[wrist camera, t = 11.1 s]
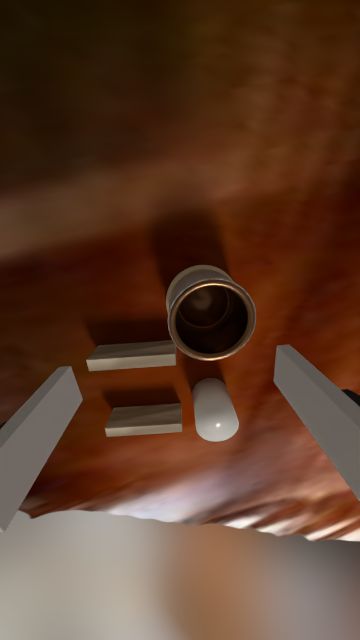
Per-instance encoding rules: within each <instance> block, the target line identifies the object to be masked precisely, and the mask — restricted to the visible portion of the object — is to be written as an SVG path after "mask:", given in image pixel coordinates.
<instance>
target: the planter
mask: <svg viewBox="0 0 360 640" xmlns="http://www.w3.org/2000/svg"><path fill="white" fill-rule="evenodd" d="M255 323H256V310H255V306H254V303H253V301H252V299H251V297H250V296H249V294H248V293H247V292H246V291H245V290H244V289H243V288H242V287H241V286H239V285H238V284H236V283H235V282H233V281H232V280H230V279H229V278H227V277H226V276H225V275H223V274H221V273H219V272H217V271H214V270H210V269H200V270H195V271H192V272H190V273H188V274H186V275H184V276H183V277H182V278H181V279H180V280H179V281H178V282H177V283H176V284H175V286H174V288H173V290H172V292H171V295H170V301H169V313H168V329H169V333H170V336H171V338H172V340H173V342H174V343H175V345H176V346H177V347H178V348H179V349H180V350H181V351H182V352H184V353H185V354H187V355H188V356H190V357H193V358H195V359H199V360H205V361H213V360H220V359H223V358H226V357H229V356H231V355H233V354H234V353H236V352H237V351H239V350H240V349H241V348H242V347H243V346H244V345H245V344H246V343H247V342H248V340H249V339H250V337H251V335H252V333H253V331H254V328H255Z"/></svg>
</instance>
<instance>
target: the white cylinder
mask: <svg viewBox="0 0 360 640" xmlns="http://www.w3.org/2000/svg"><path fill="white" fill-rule="evenodd" d="M192 394H193V403H194V412H195V422H196V430H197V432H198V434H199V435H200V436H201V437H202V438H204V439H206V440H209V441H223V440H226V439H228V438H230V437H232V436H233V435H234V434H235V433H236V431H237V430H238V427H239V422H238V418H237V416H236V413H235V410H234V407H233V404H232V402H231V399H230V396H229V393H228V390H227V388H226V385H225V384H224V383H223V382H222V381H221V380H219V379H216V378H205V379H202V380H200V381H199V382H198V383H197V384H196V385H195V386H194V388H193V391H192Z"/></svg>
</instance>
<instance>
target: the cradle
mask: <svg viewBox="0 0 360 640" xmlns="http://www.w3.org/2000/svg"><path fill="white" fill-rule="evenodd" d="M86 361H87V365H88V368H89V371H98V370H112V369H126V368H140V367H155V366H169V365H176V345H175V343H174V342H173V340H168V341H154V342H140V343H126V344H111V345H98V346H97V348H96V349H95V350H94V351H93V353H92V354H91V355H90V356H89V358H88V359H87V360H86ZM105 430H106V434H107V437H111V436H126V435H141V434H156V433H171V432H182V410H181V403H177V404H162V405H147V406H133V407H118V408H113V410H112V413H111V415H110V418H109V420H108V423H107V425H106V428H105Z"/></svg>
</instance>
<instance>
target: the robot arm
mask: <svg viewBox="0 0 360 640" xmlns="http://www.w3.org/2000/svg"><path fill="white" fill-rule="evenodd" d="M274 383H275V384H276V385H277V387H278V388H279V390H280V391H281V392H282V394H283V395H284V397H285V398H286V399H287V401H288V402H289V404H290V405H291V406H292V408H293V409H294V411H295V412H296V413H297V415H298V416H299V417H300V419H301V420H302V422H303V423H304V424H305V426H306V427H307V429H308V430H309V431H310V433H311V434H312V436H313V437H314V438H315V440H316V441H317V443H318V444H319V445H320V447H321V448H322V450H323V451H324V452H325V454H326V455H327V456H328V458H329V459H330V461H331V462H332V463H333V465H334V466H335V468H336V469H337V470H338V472H339V473H340V475H341V476H342V477H343V479H344V480H345V482H346V483H347V484H348V486H349V487H350V489H351V490H352V491H353V493H354V494H355V495H356V497H357V498H358V500H359V501H360V395H358V394H356V393H354V392H352V391H350V390H348V389H345V390H340V389H339V388H338V387H337V386H336V385H334V384H333V383H332V382H331V381H330V380H329V379H328V378H327V377H325V376H324V375H323V374H322V373H321V372H320V371H319V370H317V369H316V368H315V367H314V366H313V365H312V364H311V363H310V362H308V361H307V360H306V359H305V358H304V357H303V356H302V355H300V354H299V353H298V352H297V351H296V350H295V349H294V348H293V347H291V346H290V345H279V346H277V350H276V361H275V372H274ZM82 400H83V399H82V396H81V393H80V391H79V388H78V385H77V382H76V379H75V377H74V374H73V371H72V368H71V366H65V367H58V369H57V370H56V371H55V372H54V373H53V374H52V375H51V376H50V377H49V378H48V379H47V380H46V381H45V382H44V383H43V385H42V386H41V387H40V388H39V389H38V390H37V391H36V392H35V393H34V394H33V395H32V396H31V397H30V398H29V399H28V400H27V402H26V403H25V404H24V405H23V406H22V407H21V408H20V409H19V410H18V411H17V412H16V413H15V414H14V415H13V416H12V417H11V419H10V420H9V421H8V422H4V423H3V424H2V425H0V532H5V530H6V529H7V527H8V525H9V524H10V522H11V520H12V519H13V517H14V515H15V513H16V512H17V510H18V508H19V507H20V505H21V503H22V502H23V500H24V498H25V497H26V495H27V493H28V491H29V490H30V488H31V486H32V485H33V483H34V481H35V480H36V478H37V476H38V475H39V473H40V471H41V469H42V468H43V466H44V464H45V463H46V461H47V459H48V458H49V456H50V454H51V453H52V451H53V449H54V447H55V446H56V444H57V442H58V441H59V439H60V437H61V436H62V434H63V432H64V431H65V429H66V427H67V425H68V424H69V422H70V420H71V419H72V417H73V415H74V414H75V412H76V410H77V409H78V407H79V405H80V403H81V402H82Z"/></svg>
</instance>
